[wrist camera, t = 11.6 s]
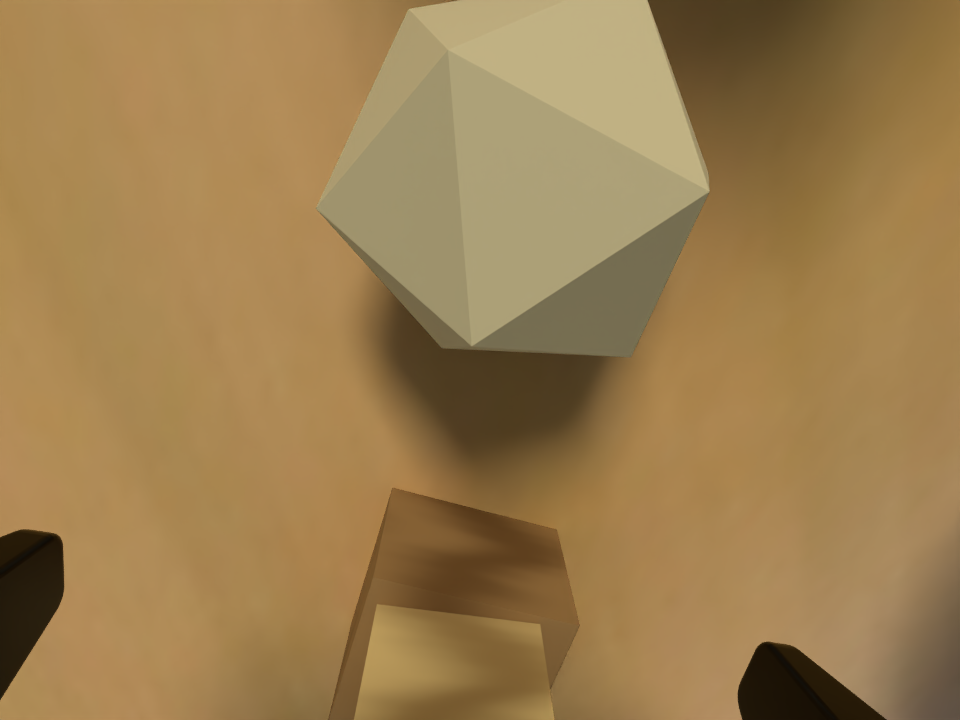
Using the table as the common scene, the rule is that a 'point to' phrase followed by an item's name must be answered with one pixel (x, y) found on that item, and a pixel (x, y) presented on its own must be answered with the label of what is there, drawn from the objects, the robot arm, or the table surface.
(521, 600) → the walnut block
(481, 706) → the oak block
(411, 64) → the beige icosahedron
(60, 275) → the table surface
